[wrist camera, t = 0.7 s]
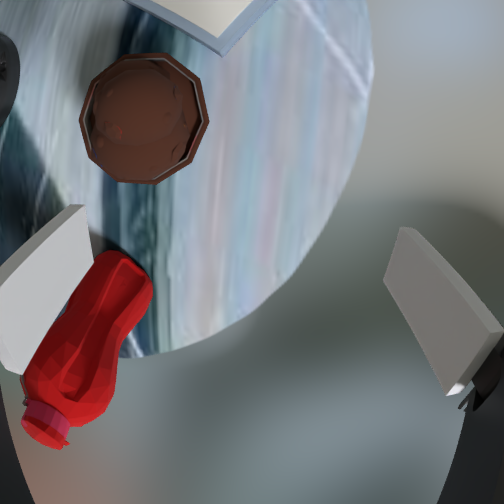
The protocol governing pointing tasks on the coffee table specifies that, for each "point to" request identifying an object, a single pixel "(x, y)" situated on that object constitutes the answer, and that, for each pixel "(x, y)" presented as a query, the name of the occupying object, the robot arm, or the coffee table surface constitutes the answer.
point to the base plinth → (208, 18)
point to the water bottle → (83, 350)
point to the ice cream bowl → (143, 118)
